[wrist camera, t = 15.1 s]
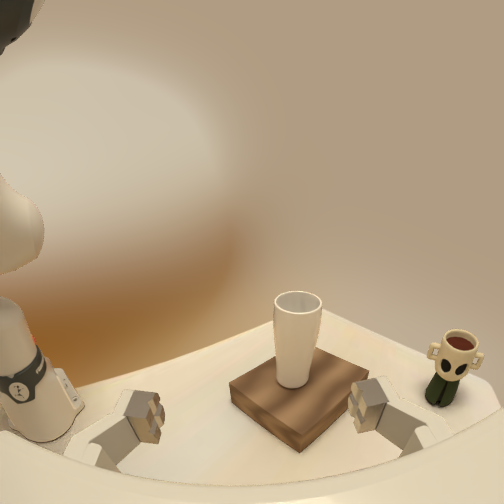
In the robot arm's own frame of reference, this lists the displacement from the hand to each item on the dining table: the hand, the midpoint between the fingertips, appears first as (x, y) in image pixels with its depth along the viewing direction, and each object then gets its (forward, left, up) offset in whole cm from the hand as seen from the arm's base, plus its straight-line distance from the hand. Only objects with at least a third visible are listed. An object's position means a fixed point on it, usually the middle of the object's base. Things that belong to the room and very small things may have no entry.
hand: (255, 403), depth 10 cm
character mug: (+6, +38, -29) cm, 48 cm away
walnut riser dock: (-16, +23, -29) cm, 40 cm away
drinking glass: (-17, +22, -24) cm, 36 cm away
